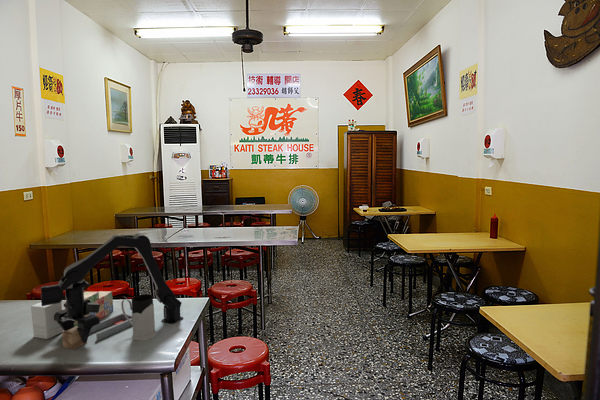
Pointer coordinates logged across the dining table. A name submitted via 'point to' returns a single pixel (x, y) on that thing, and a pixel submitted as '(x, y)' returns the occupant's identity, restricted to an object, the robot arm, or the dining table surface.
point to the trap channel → (119, 325)
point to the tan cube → (72, 338)
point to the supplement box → (45, 320)
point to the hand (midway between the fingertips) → (78, 340)
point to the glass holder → (142, 317)
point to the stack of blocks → (100, 298)
